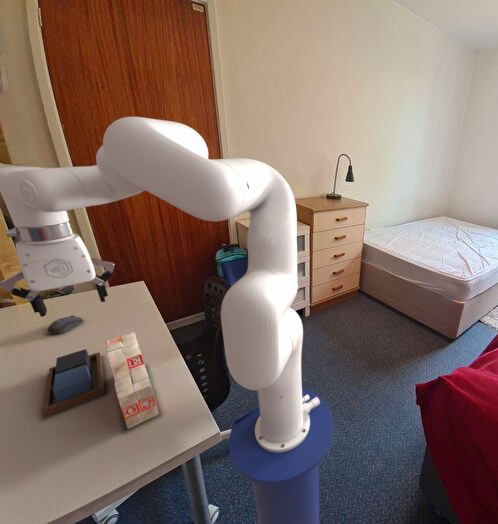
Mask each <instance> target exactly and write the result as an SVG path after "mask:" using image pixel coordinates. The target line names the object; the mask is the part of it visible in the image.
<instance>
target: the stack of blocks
mask: <svg viewBox="0 0 498 524" xmlns="http://www.w3.org/2000/svg"><path fill="white" fill-rule="evenodd" d="M136 336H137V335H136V332H135V331H133V332H130V333H126V334H123V335H120V336H117V337H113V338H110V339H108V340H105V345H106V346H105V347H106V352H107V353H106V354H107V359H108V362H109V366H110V369H111V372H112V375H113V380H114V390H115V394H116V396H117V400H118V404H119V406H120V411H121V414H122V417H123V419H124V422H125V425H126V428H127V430H129V429H131V428H133V427H136V426H137V425H140V424H142V423H143V422H145V421H148V420H150V419H152V418H154V417H156V416H158V415H159V410H158V406H157V401H156V398H155V393H154V390H153V387H152V383H151V380H150V377H149V374H148V371H147V368H146V365H145V362H144V358H143V355H142V352H141V348H140V346H139V342H138V340H137V337H136Z"/></svg>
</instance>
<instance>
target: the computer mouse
mask: <svg viewBox="0 0 498 524" xmlns="http://www.w3.org/2000/svg"><path fill="white" fill-rule="evenodd" d="M83 321H84V320H83V318H82V317H80V316H75V315H70V316H66V317H61V318H58V319H56V320H54V321H52V323H50V324H49V326H48V327H47V331H46V332H47V333H48V334H59V335H60V334H64V333H66V332H68V331H70V330H71V329H73V328H76V327H77V326H79V325H80V324H82V323H83Z"/></svg>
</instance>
